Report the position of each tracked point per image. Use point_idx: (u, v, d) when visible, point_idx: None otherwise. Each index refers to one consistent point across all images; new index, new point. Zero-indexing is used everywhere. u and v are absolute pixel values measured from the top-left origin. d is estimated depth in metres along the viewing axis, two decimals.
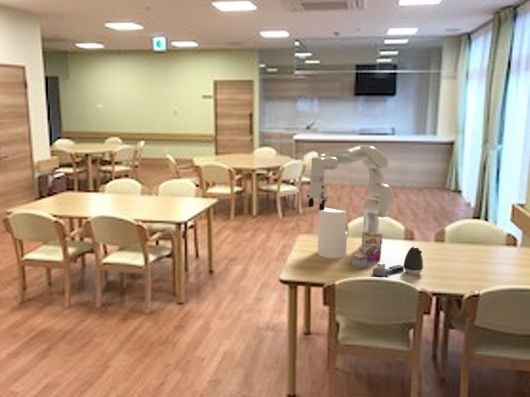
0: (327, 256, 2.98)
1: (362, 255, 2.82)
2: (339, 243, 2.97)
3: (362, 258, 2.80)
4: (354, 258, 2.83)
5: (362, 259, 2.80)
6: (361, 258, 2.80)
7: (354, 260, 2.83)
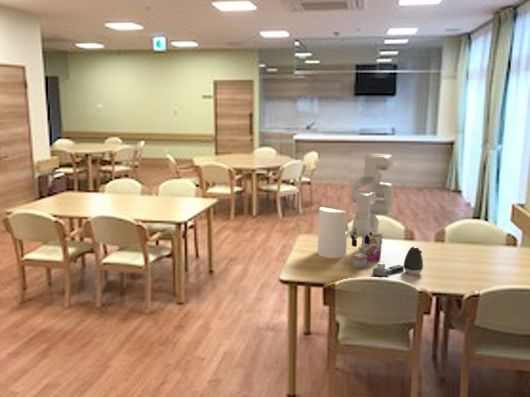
0: (327, 256, 2.98)
1: (362, 255, 2.82)
2: (339, 243, 2.97)
3: (362, 258, 2.80)
4: (354, 258, 2.83)
5: (362, 259, 2.80)
6: (361, 258, 2.80)
7: (354, 260, 2.83)
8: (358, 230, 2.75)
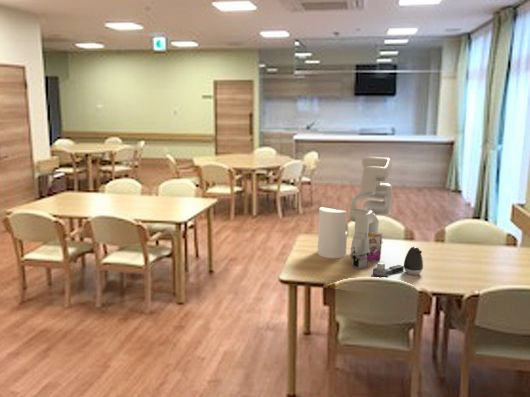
0: (327, 256, 2.98)
1: (362, 255, 2.82)
2: (339, 243, 2.97)
3: (362, 258, 2.80)
4: None
5: (362, 259, 2.80)
6: (361, 258, 2.80)
7: None
8: (357, 249, 2.78)
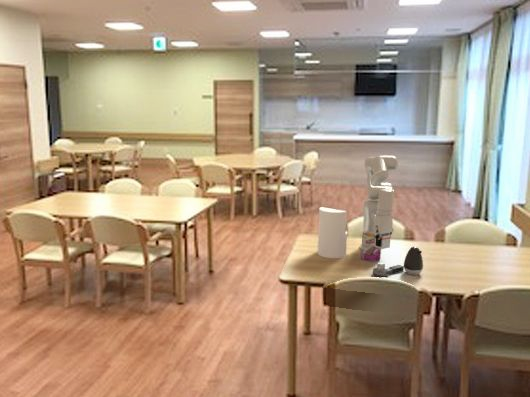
0: (327, 256, 2.98)
1: (385, 234, 2.65)
2: (339, 243, 2.97)
3: (385, 237, 2.64)
4: None
5: (385, 238, 2.64)
6: (384, 237, 2.63)
7: None
8: (380, 228, 2.61)
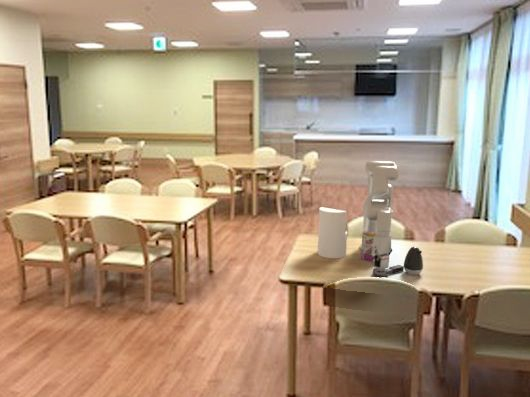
0: (327, 256, 2.98)
1: (384, 255, 2.68)
2: (339, 243, 2.97)
3: (384, 258, 2.66)
4: None
5: (384, 259, 2.66)
6: (383, 258, 2.65)
7: None
8: (379, 249, 2.64)
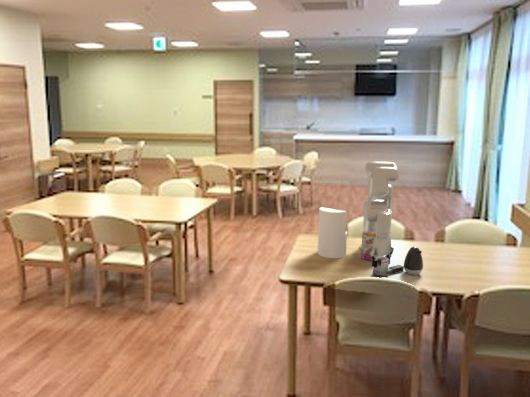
0: (327, 256, 2.98)
1: (384, 258, 2.68)
2: (339, 243, 2.97)
3: (384, 261, 2.67)
4: None
5: (384, 262, 2.67)
6: (383, 261, 2.66)
7: None
8: (379, 250, 2.64)
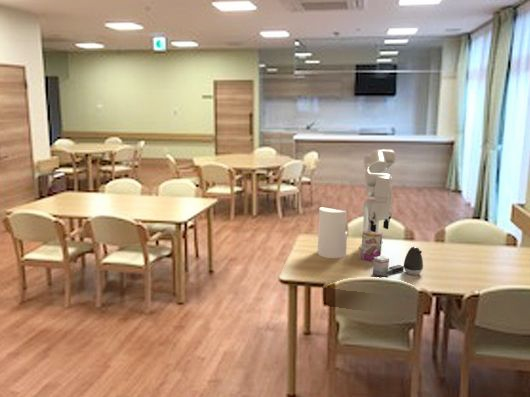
0: (327, 256, 2.98)
1: (384, 258, 2.68)
2: (339, 243, 2.97)
3: (384, 261, 2.67)
4: (375, 261, 2.69)
5: (384, 262, 2.67)
6: (383, 261, 2.66)
7: (375, 263, 2.69)
8: (377, 215, 2.65)
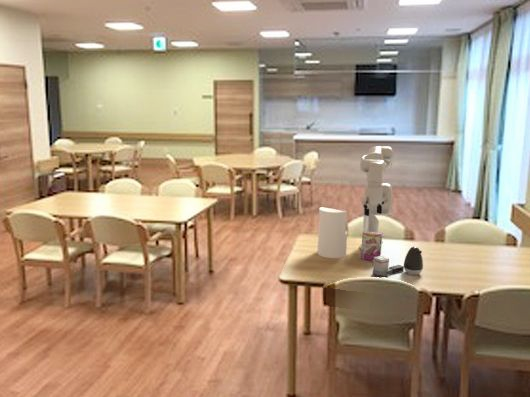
0: (327, 256, 2.98)
1: (384, 258, 2.68)
2: (339, 243, 2.97)
3: (384, 261, 2.67)
4: (375, 261, 2.69)
5: (384, 262, 2.67)
6: (383, 261, 2.66)
7: (375, 263, 2.69)
8: (371, 199, 2.73)
